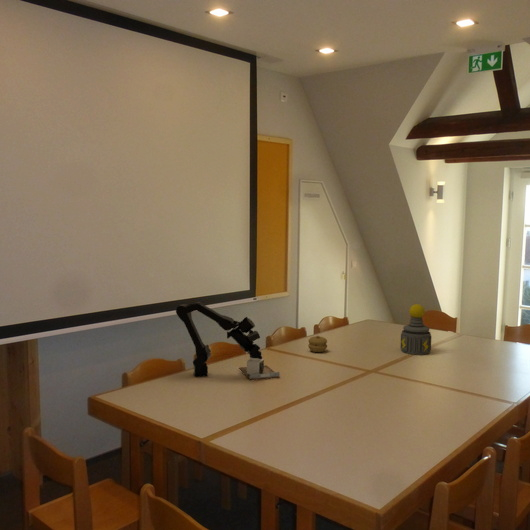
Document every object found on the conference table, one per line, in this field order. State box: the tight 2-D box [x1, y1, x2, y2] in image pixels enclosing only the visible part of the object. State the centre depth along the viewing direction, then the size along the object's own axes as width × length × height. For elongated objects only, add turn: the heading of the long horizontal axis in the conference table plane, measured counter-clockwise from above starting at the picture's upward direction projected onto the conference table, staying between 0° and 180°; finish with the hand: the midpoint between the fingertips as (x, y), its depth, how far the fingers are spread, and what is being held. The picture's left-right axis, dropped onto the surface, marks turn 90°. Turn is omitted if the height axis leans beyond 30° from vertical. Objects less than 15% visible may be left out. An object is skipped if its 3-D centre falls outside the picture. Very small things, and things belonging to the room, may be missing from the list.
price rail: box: [249, 371, 281, 379], centre depth 295 cm, size 16×2×2 cm, turn 108°
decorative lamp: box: [400, 303, 432, 356], centre depth 355 cm, size 19×19×30 cm
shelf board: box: [238, 364, 281, 381], centre depth 305 cm, size 16×22×1 cm
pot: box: [307, 335, 328, 353], centre depth 354 cm, size 12×12×10 cm
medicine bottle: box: [246, 349, 265, 374], centre depth 301 cm, size 7×7×12 cm
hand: (259, 357), depth 302 cm, fingers closed on medicine bottle, 6 cm apart
